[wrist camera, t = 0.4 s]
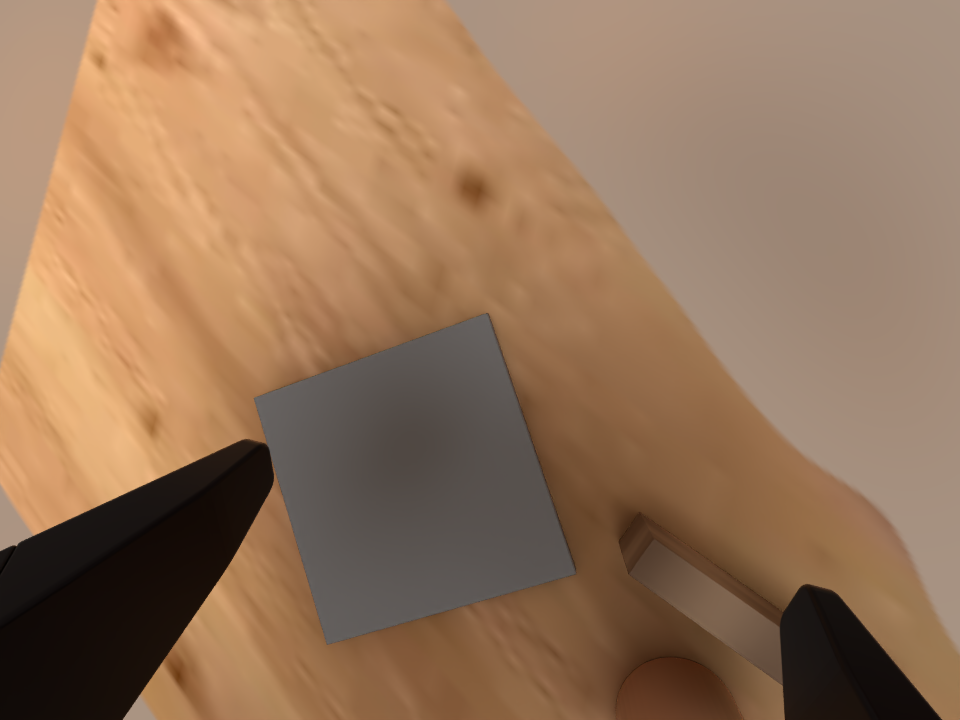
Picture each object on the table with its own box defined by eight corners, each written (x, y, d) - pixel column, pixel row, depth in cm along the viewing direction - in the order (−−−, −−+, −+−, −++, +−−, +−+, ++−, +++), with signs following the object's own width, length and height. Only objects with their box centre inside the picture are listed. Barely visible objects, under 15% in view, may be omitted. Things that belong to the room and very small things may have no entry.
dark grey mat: (576, 569, 24) (575, 574, 23) (332, 638, 26) (326, 644, 25) (488, 314, 25) (486, 312, 24) (260, 397, 27) (253, 398, 26)
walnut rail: (897, 692, 22) (971, 762, 18) (874, 724, 22) (942, 800, 18) (639, 512, 23) (653, 538, 20) (618, 541, 24) (628, 574, 20)
